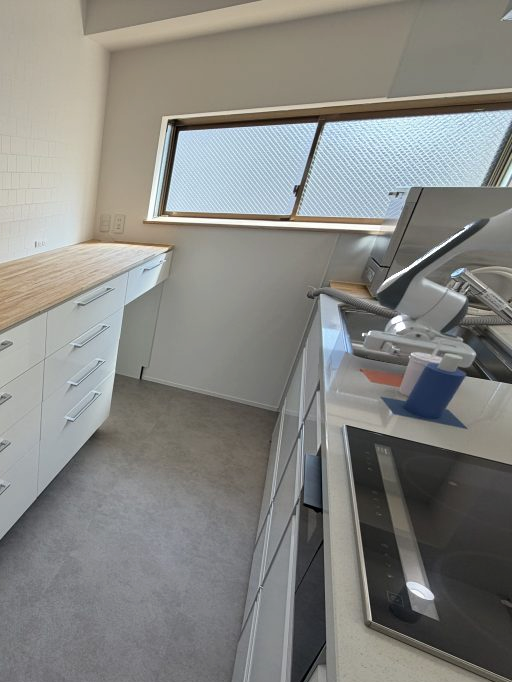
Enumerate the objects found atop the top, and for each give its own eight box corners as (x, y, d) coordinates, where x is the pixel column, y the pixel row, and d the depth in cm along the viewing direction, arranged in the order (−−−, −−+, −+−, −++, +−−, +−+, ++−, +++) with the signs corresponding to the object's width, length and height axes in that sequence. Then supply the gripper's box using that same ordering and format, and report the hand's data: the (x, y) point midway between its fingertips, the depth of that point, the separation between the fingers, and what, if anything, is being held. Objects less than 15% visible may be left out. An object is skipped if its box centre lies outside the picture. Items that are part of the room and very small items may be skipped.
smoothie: (434, 402, 94) (468, 345, 87) (406, 401, 93) (438, 344, 87) (410, 389, 99) (440, 334, 93) (383, 388, 99) (412, 333, 93)
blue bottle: (433, 408, 90) (466, 353, 84) (445, 421, 85) (481, 364, 79) (398, 402, 92) (428, 348, 86) (409, 414, 87) (441, 357, 81)
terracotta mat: (422, 381, 104) (423, 379, 104) (437, 395, 97) (438, 393, 97) (359, 370, 109) (360, 368, 109) (369, 383, 102) (370, 381, 101)
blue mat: (446, 411, 90) (448, 409, 90) (467, 431, 83) (468, 429, 83) (379, 398, 94) (380, 396, 94) (392, 415, 87) (393, 413, 87)
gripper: (366, 321, 112) (370, 334, 102) (471, 339, 102) (487, 355, 91) (356, 343, 115) (359, 358, 105) (457, 362, 104) (471, 381, 94)
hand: (420, 357), depth 98 cm, fingers open, 8 cm apart
